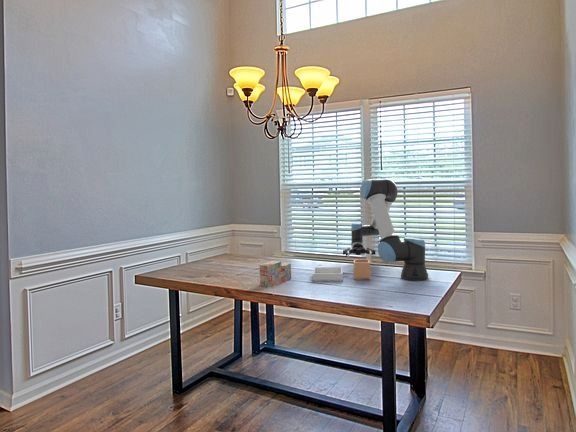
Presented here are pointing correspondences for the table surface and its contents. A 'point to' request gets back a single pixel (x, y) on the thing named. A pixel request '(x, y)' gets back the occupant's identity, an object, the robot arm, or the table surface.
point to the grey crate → (327, 274)
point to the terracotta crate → (362, 269)
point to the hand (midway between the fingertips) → (359, 255)
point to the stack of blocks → (274, 273)
